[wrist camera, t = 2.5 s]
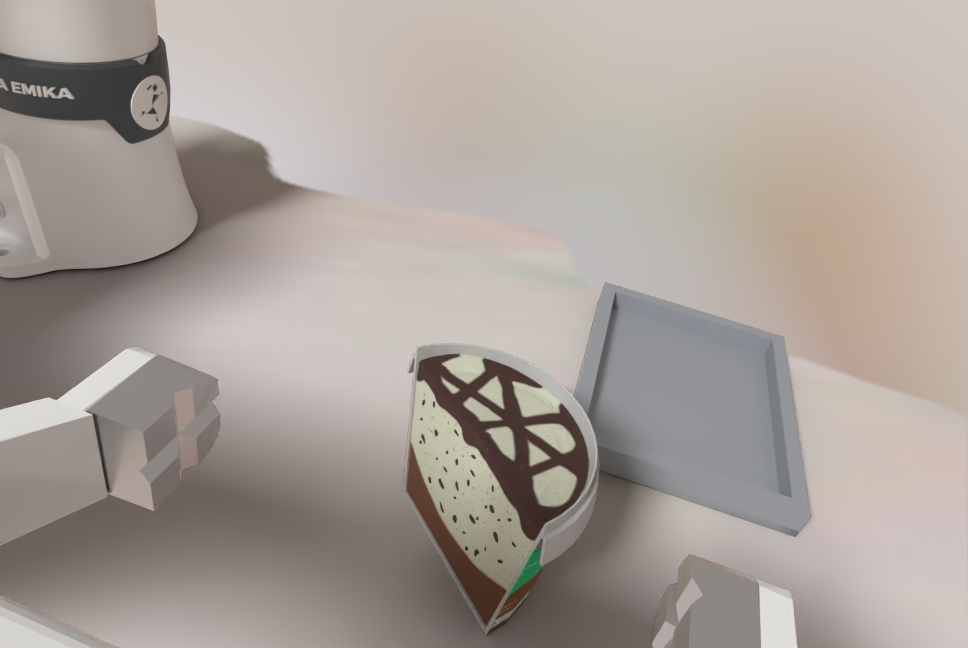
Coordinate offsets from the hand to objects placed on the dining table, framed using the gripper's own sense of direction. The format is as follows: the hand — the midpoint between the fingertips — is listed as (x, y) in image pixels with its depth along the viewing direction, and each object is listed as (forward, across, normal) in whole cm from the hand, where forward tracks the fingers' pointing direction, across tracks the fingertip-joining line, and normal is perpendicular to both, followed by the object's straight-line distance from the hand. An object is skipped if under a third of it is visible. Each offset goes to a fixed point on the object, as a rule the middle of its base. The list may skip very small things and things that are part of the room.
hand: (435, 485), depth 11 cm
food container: (+17, 0, -22) cm, 28 cm away
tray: (+34, +10, -22) cm, 42 cm away
